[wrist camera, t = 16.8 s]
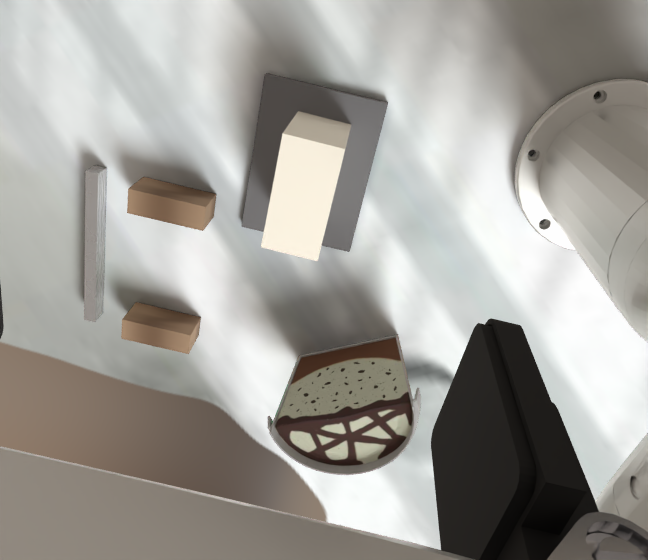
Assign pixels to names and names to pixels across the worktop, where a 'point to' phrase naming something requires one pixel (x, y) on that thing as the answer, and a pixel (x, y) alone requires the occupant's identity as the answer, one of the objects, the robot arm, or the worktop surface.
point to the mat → (366, 124)
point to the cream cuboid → (304, 185)
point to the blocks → (155, 204)
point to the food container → (347, 408)
